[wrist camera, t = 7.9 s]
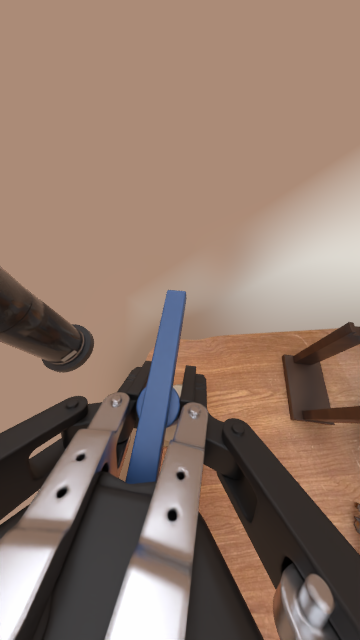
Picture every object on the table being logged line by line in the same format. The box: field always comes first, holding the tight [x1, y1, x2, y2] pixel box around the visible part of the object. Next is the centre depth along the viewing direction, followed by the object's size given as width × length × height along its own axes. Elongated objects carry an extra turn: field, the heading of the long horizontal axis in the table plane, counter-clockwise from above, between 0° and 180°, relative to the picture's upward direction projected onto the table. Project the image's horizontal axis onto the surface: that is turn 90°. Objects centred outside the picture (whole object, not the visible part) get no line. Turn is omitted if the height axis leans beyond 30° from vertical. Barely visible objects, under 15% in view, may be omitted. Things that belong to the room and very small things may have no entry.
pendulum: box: [125, 290, 186, 484], centre depth 14 cm, size 5×13×12 cm, turn 172°
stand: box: [282, 322, 360, 425], centre depth 30 cm, size 7×12×17 cm, turn 173°
